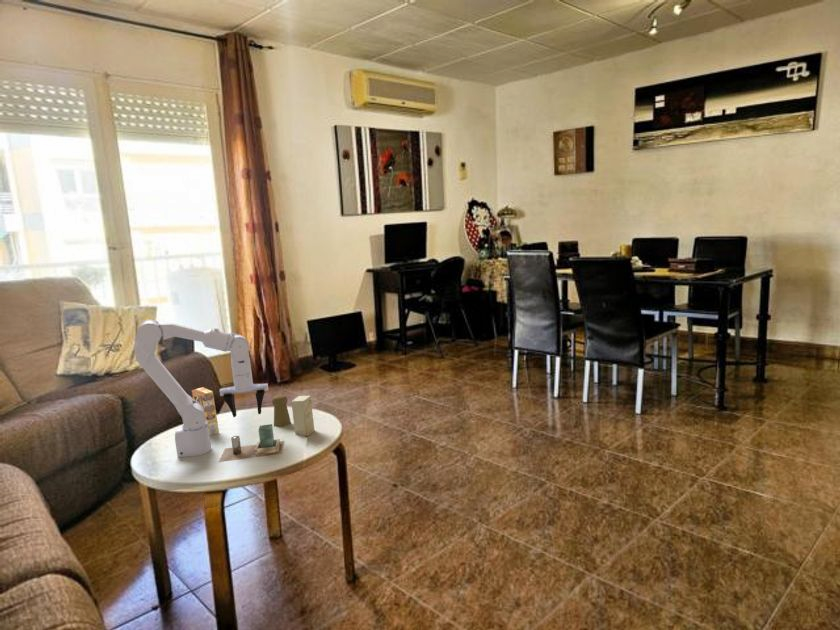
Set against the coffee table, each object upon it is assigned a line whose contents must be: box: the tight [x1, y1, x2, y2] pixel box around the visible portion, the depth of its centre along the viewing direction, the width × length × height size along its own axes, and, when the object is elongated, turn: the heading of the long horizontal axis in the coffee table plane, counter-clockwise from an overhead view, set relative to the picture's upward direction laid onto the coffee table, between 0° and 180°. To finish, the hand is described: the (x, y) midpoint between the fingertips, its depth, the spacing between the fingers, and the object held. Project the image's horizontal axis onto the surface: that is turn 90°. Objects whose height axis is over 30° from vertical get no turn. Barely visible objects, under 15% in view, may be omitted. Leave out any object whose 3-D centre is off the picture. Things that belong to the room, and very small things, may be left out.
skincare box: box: [290, 395, 315, 438], centre depth 178 cm, size 6×4×12 cm
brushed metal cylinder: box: [230, 435, 242, 455], centre depth 163 cm, size 2×2×5 cm
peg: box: [258, 423, 275, 448], centre depth 165 cm, size 4×4×7 cm
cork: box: [271, 394, 292, 428], centre depth 186 cm, size 6×6×11 cm
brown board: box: [218, 438, 285, 463], centre depth 164 cm, size 18×10×2 cm, turn 100°
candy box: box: [191, 387, 220, 436], centre depth 184 cm, size 9×4×15 cm, turn 44°
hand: (247, 414), depth 172 cm, fingers open, 7 cm apart
